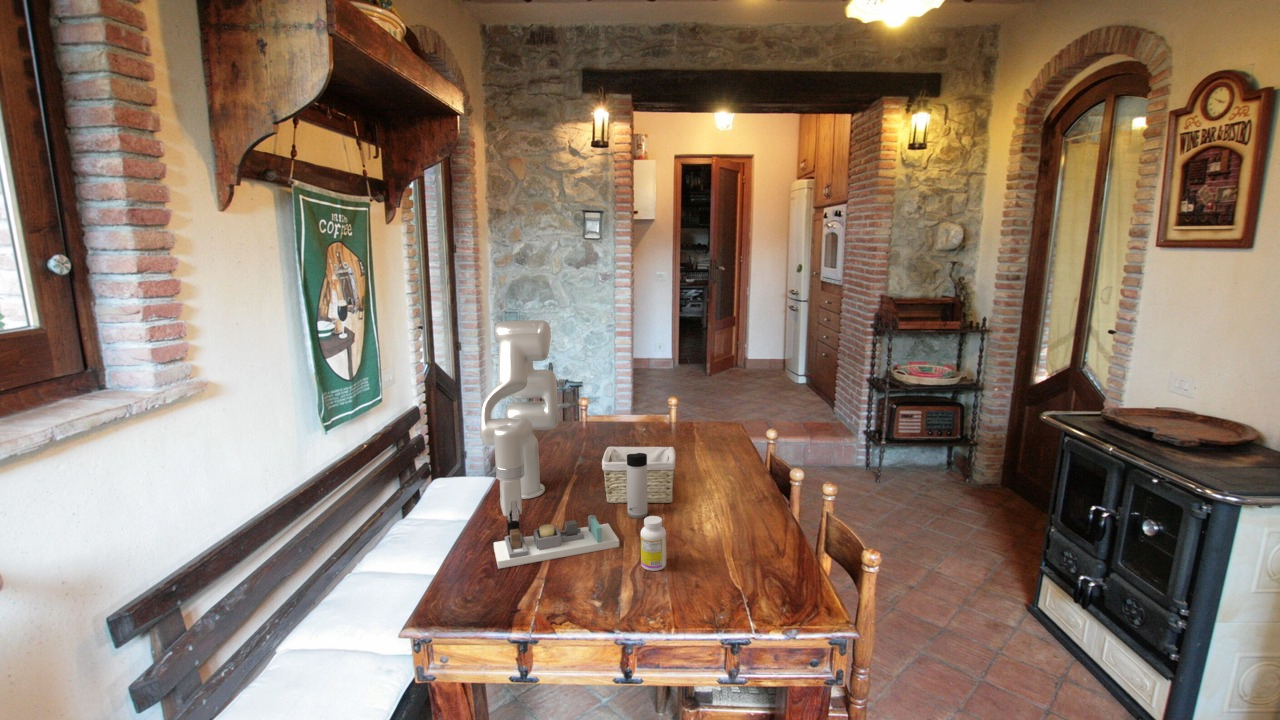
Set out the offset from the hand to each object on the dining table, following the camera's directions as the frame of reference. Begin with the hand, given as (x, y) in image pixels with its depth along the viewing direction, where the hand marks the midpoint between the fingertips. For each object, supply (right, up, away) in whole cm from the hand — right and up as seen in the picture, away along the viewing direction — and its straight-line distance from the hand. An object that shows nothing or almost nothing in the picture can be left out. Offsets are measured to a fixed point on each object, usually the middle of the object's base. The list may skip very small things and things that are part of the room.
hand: (513, 533), depth 165 cm
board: (+12, -4, 0) cm, 13 cm away
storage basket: (+35, +2, +35) cm, 50 cm away
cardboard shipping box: (+1, -3, -3) cm, 4 cm away
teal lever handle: (+23, -1, +3) cm, 23 cm away
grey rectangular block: (+16, -2, +2) cm, 16 cm away
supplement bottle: (+39, -6, -9) cm, 40 cm away
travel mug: (+34, 0, +20) cm, 40 cm away
